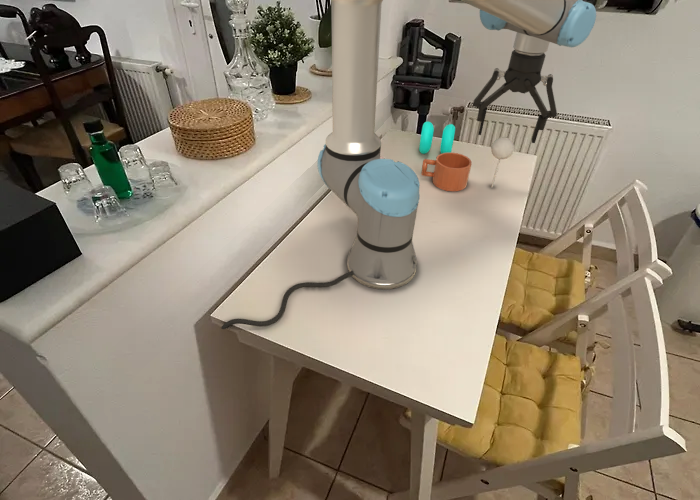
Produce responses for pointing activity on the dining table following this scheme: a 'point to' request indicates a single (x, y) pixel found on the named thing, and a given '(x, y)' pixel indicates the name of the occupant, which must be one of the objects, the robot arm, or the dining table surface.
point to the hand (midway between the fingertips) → (506, 137)
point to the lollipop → (502, 150)
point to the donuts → (428, 136)
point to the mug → (449, 171)
